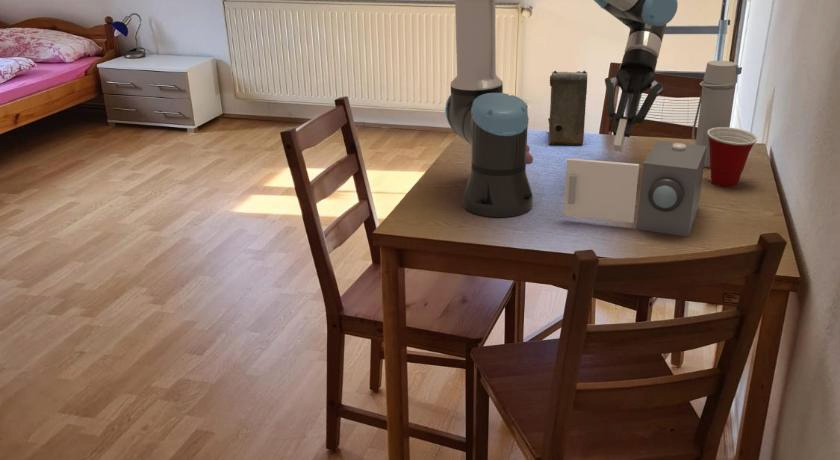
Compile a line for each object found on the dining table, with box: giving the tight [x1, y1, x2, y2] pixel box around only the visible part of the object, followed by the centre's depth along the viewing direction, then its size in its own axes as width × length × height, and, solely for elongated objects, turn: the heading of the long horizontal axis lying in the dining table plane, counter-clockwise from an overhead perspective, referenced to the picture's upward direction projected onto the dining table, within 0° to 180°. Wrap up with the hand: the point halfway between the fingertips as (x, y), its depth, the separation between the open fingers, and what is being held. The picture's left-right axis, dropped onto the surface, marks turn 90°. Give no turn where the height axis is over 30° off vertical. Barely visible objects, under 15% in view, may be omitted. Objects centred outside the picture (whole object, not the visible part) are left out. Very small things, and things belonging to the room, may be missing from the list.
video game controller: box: [526, 144, 534, 164], centre depth 200 cm, size 10×5×7 cm, turn 179°
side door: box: [563, 157, 640, 223], centre depth 156 cm, size 14×2×12 cm, turn 72°
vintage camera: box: [547, 70, 588, 146], centre depth 212 cm, size 10×16×20 cm, turn 174°
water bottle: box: [691, 60, 738, 169], centre depth 189 cm, size 9×8×25 cm
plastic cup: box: [707, 126, 758, 188], centre depth 178 cm, size 11×11×12 cm
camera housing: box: [636, 140, 707, 238], centre depth 158 cm, size 18×10×15 cm, turn 155°
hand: (617, 148), depth 169 cm, fingers closed
